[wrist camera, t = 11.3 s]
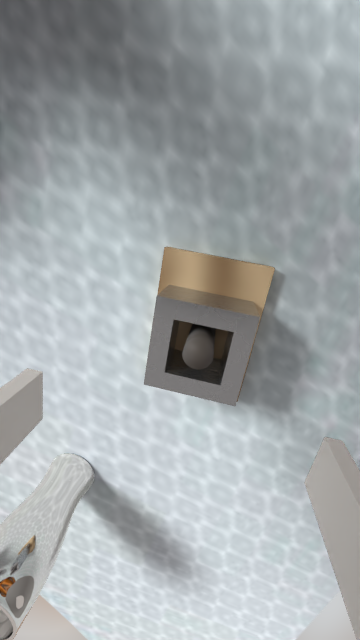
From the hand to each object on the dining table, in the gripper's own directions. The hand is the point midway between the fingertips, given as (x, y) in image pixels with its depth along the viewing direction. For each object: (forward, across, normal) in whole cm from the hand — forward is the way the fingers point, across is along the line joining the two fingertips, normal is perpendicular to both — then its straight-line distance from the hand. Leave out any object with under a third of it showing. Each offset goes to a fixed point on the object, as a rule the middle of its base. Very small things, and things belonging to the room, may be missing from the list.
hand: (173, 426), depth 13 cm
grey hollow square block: (+15, +1, -1) cm, 15 cm away
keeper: (+16, +1, -1) cm, 16 cm away
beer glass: (+16, -12, -25) cm, 32 cm away
